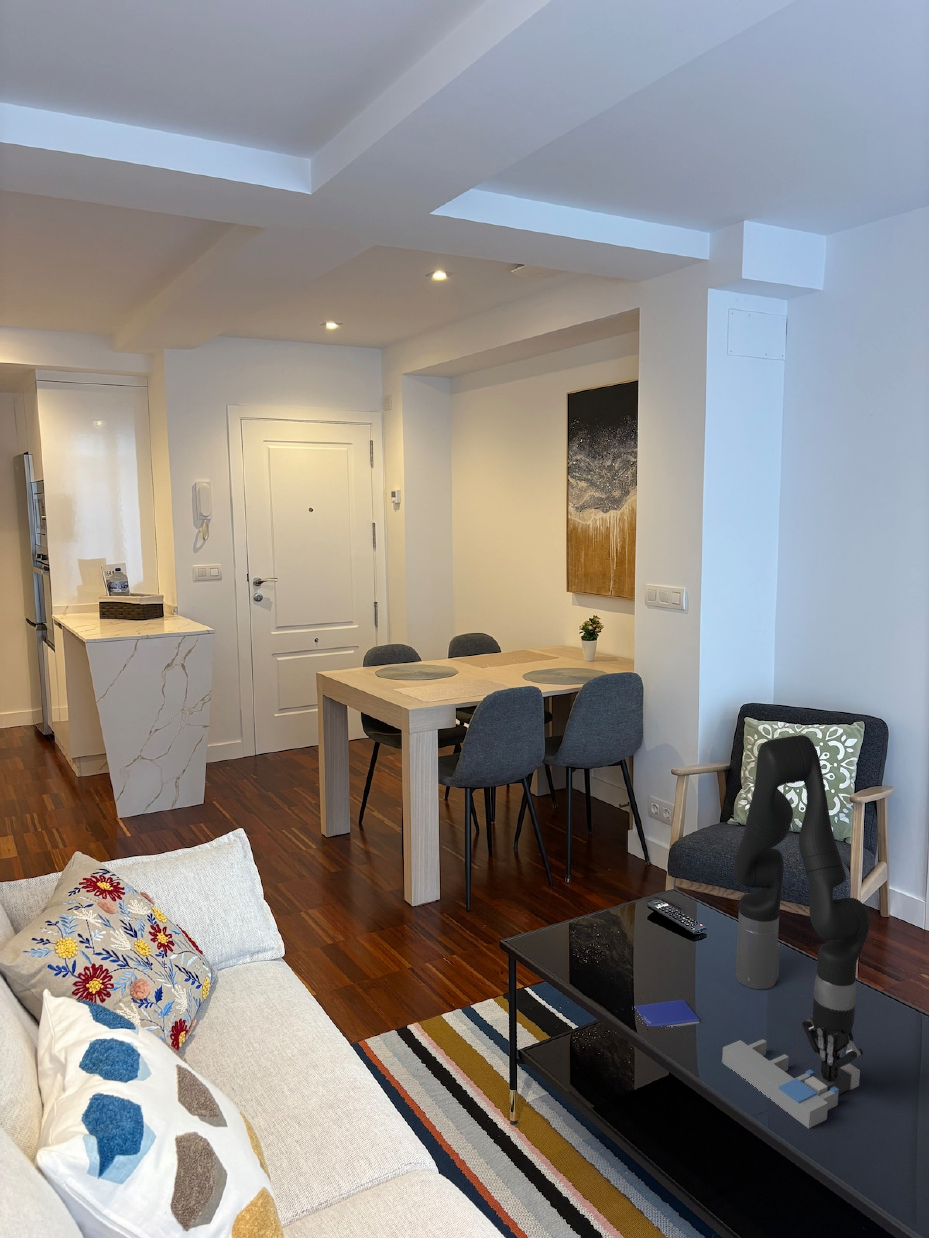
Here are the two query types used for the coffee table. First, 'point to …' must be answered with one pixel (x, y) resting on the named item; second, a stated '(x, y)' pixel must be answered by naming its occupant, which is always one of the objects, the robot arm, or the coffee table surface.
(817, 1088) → the dark grey capped bar
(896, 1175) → the coffee table surface
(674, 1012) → the hard drive
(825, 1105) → the pronged holder rack
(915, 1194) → the coffee table surface
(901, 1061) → the coffee table surface
